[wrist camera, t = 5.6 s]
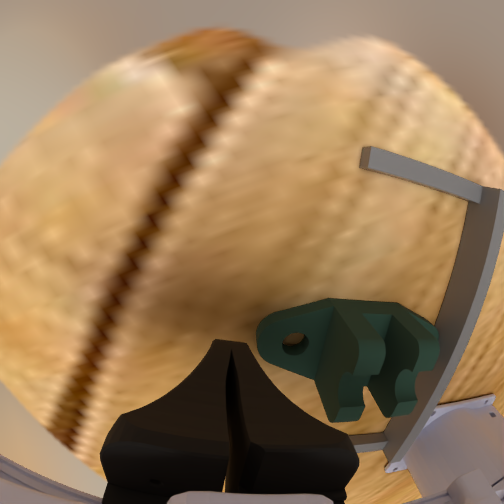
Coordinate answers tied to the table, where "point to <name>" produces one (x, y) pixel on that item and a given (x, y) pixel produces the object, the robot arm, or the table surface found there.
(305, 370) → the mount
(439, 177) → the u-shaped gray bracket
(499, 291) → the table surface
